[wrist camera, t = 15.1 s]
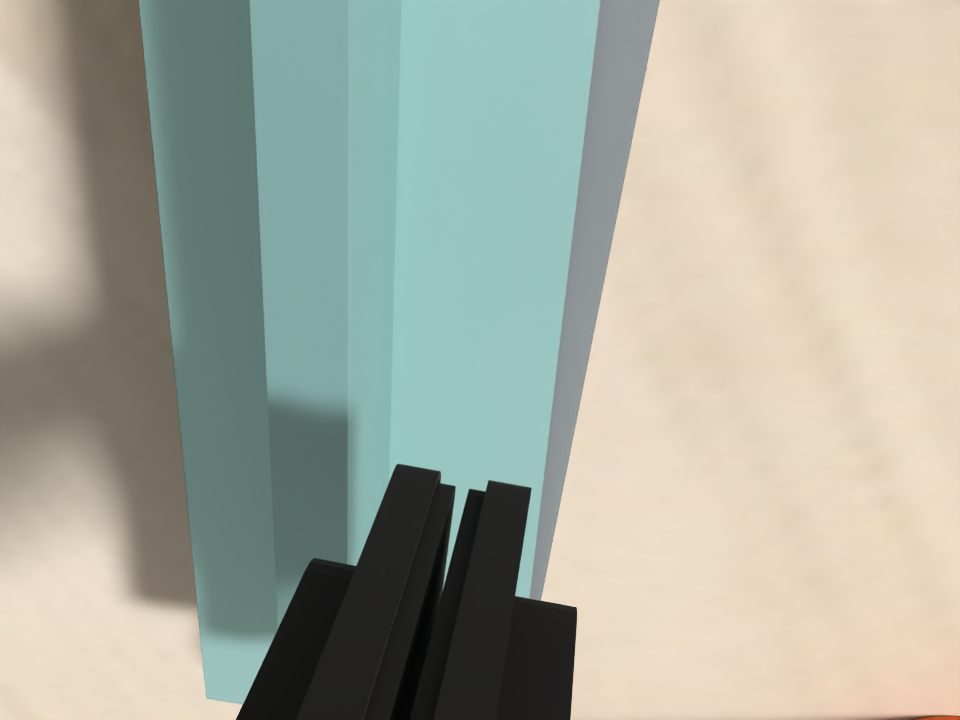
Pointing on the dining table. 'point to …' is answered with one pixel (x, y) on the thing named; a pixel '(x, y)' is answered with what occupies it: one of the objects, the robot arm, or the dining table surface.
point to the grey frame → (593, 232)
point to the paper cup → (940, 718)
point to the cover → (356, 270)
